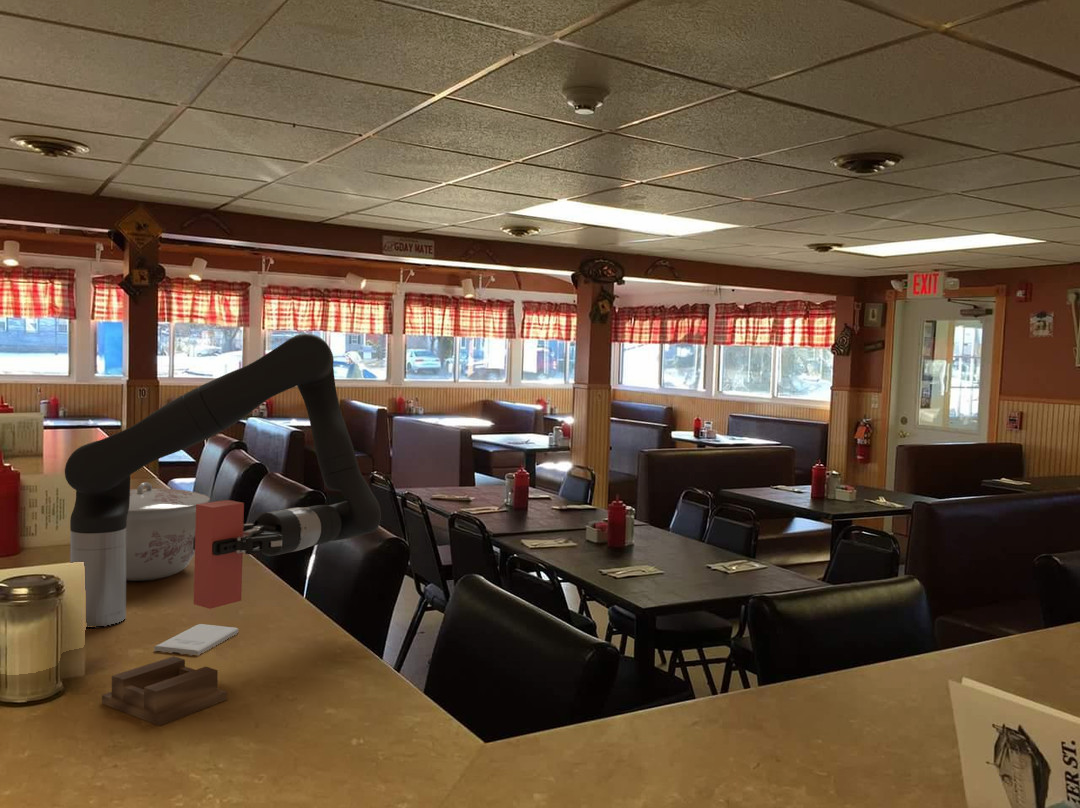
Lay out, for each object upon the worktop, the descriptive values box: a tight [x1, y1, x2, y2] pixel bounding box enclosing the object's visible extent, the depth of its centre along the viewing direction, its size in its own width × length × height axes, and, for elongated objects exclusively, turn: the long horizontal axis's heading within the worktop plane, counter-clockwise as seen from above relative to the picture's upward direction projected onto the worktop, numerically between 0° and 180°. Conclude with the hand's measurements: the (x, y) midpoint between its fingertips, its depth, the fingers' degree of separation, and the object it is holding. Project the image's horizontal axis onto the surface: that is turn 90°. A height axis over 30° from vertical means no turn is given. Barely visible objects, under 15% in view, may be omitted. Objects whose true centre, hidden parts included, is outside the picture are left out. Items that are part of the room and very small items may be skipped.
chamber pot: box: [126, 481, 211, 582], centre depth 194 cm, size 28×28×21 cm
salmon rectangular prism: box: [193, 499, 245, 610], centre depth 139 cm, size 4×6×16 cm, turn 149°
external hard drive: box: [153, 623, 239, 656], centre depth 151 cm, size 2×8×12 cm
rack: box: [101, 656, 228, 727], centre depth 125 cm, size 13×11×4 cm
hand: (204, 546), depth 136 cm, fingers closed on salmon rectangular prism, 4 cm apart
